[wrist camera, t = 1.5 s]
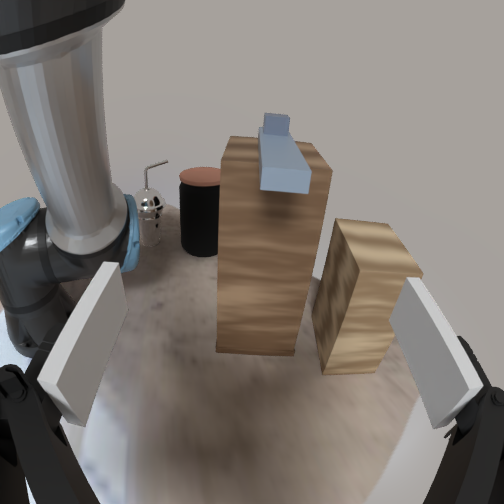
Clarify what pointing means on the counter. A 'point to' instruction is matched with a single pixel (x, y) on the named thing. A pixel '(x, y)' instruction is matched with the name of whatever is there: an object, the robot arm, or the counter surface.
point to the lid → (281, 157)
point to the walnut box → (265, 252)
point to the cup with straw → (150, 211)
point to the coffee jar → (200, 210)
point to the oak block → (359, 296)
